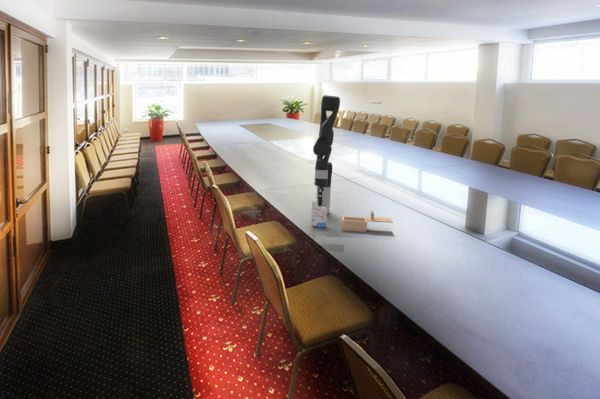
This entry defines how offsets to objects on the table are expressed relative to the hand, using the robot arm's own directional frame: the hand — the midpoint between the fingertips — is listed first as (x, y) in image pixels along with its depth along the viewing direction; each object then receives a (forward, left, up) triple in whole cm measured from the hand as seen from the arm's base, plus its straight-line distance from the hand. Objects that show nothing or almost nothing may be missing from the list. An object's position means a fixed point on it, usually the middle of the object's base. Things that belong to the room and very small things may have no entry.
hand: (320, 204), depth 238 cm
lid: (+2, +35, -7) cm, 35 cm away
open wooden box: (+2, +21, -13) cm, 24 cm away
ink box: (0, 0, -13) cm, 13 cm away
